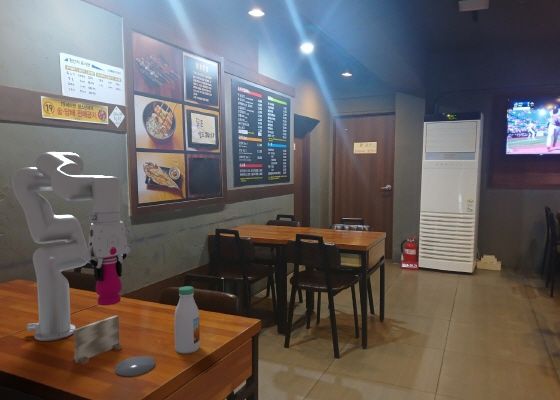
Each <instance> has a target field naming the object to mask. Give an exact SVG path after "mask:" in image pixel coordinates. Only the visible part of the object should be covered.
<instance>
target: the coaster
mask: <svg viewBox="0 0 560 400" xmlns="http://www.w3.org/2000/svg"><path fill="white" fill-rule="evenodd" d="M155 367H156V360H155V358H153V357H151V356H146V355H145V356H144V355H139V356H138V355H137V356H132V357H128V358H126V359H123V360H121V361H120V362H118V363H117V364H116V365H115V368H114V372H115V373H116V374H117V375H118V376H121V377H136V376H140V375H144V374H146V373H149V372H151V370H153V368H155Z"/></svg>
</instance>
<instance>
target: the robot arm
mask: <svg viewBox="0 0 560 400" xmlns="http://www.w3.org/2000/svg"><path fill="white" fill-rule="evenodd" d="M34 164H35V165H34V166H35V167H34V166H30V167H29V166H28V167H22V168H19V169H17V170H15V171H14V172H13V174H12V177H11V186H12V190H13V194H14V196H15V198H16V199H17V201H18V203H19V204H20V206H21V208H22V210H23V212H24V215H25V220H26V222H27V226H28V230H29V233H30V237H31V238H32V241H33V242H34V243H36V244H48V245H44V246H41V247H39V248H37V249H36V250H35V251H34V252H33V255H32V262H33V263H32V264H33V267H34V271H35V275H36V285H37V286H36V288H37V303H38V304H37V305H38V322H36V323H34V322H33V323H27V325H26V329H27V332H32V331H34V339H35V340H37V341H41V342H45V341H46V342H49V341H56V340H61V339H64V338H67V337H69V336H71V335H74V329H76V328H77V327H76V325H74V324H71V306H70V305H71V304H70V284H69V280H68V279H67V278H66V277H65V276H64V275H63V274H62V272H63V271H67V270H72V269H77V268H81V267H83V266H86V264H89V265H90V266H92V267H93V277H94V279H95V281H103V268H101V264H102V260H103V258H107V257H112V256H116V257H117V262H116V272H117V274H118V277H119V278H120V277H121V278H122V272H123V269H122V268H123V266H122V264H123V263H124V260H125V259H126V258H127V255H129V254H130V253H131V248H130V247H129V245H128V241H127V234H126V233H127V232H126V228H125V224H124V221H121V220H122V219H121V189H120V188H121V187H120V184H121V183H120V179H119V178H118V177H117V176H110V175H109V176H108V175H107V176H105V175H85V174H84V175H83V173H84V169H85V163H84V160H83V159H82V157H81V156H80V155H78V154H77V153H73V152H58V151H57V152H56V151H48V152H43V153H41V154H39V155H38V156H37V157H36V159H35V163H34ZM40 191H41V192H43V191H44V192H45V191H46V192H47V191H48V192H49V191H52V192H53V194H55V195H56V196H58V197H59V198H61V199H63V200H65V201H68V202H69V201H70V202H79V201H91V203H92V205H91V206H92V213H91V215H89V216H88V220H89V221H91V222H92V223H90V227H89V233H88V245H87V242H86V239H85V236H84V232H83V228H82V225H81V223H80V221H79V220H78V218H76V216H74V215H72V214H61V215H58V214H57V215H56V214H55V213H54V210H53V206H52V205H51V203H50V201H49V200H48V199H47V198H46V197H44V196H43V195H42V194H40V193H39V192H40ZM59 242H63V243H59ZM50 243H55V244H50ZM49 244H50V245H49ZM112 247H114V248H115V247H116V250H117V252H116V253H115V254H114V255H111V254H110V248H112ZM91 257H92V258H91Z"/></svg>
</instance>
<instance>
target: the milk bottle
mask: <svg viewBox="0 0 560 400" xmlns="http://www.w3.org/2000/svg"><path fill="white" fill-rule="evenodd" d="M194 292H195V288H194V287H193V286H191V285H188V286H181V287H179V288H178V293H179V294H178V295H179V300H178V303H177V305H176V308H175V310H174V350H175V351H176V353H179V354H183V355H184V354H185V355H186V354H192V353H195V352H197V351H198V350H199V349H200V346H201V345H200V344H201V342H200V341H201V339H200V337H201V336H200V335H201V334H200V313H199V308H198V305H197V304H196V300H195V299H194V294H195V293H194Z"/></svg>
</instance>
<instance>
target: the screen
mask: <svg viewBox="0 0 560 400" xmlns="http://www.w3.org/2000/svg"><path fill="white" fill-rule="evenodd" d="M119 316H120V315H117V314H116V315H113V316H110V317H106V318H104V319H102V320H98V321H95V322H92V323H89V324H86V325H83V326H79V327H76V329H74V333H73V343H74V344H73V345H74V355H73V357H72V360H73V361H74V362H75V363H77V364H79V363H80V364H82V365H83V364H86V363H89V362H90V361H89V360H90V359H91V358H93V357H95V356H98V355H101V354H103V353H105V352H108V351H110V350H115V351H117V350H120V349H122V348H123V347H122V345H123V344H120V343H121V342H120V319H119V318H120V317H119Z"/></svg>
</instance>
